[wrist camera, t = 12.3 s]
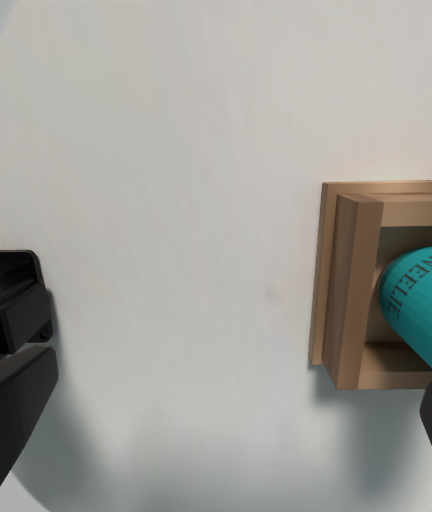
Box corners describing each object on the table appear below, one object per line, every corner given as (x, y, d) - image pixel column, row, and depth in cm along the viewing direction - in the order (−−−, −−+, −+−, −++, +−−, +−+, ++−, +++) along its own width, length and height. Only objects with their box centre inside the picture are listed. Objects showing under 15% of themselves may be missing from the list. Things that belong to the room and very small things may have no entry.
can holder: (308, 355, 23) (326, 397, 19) (322, 182, 19) (348, 191, 15) (481, 353, 23) (533, 395, 19) (530, 178, 19) (609, 185, 15)
